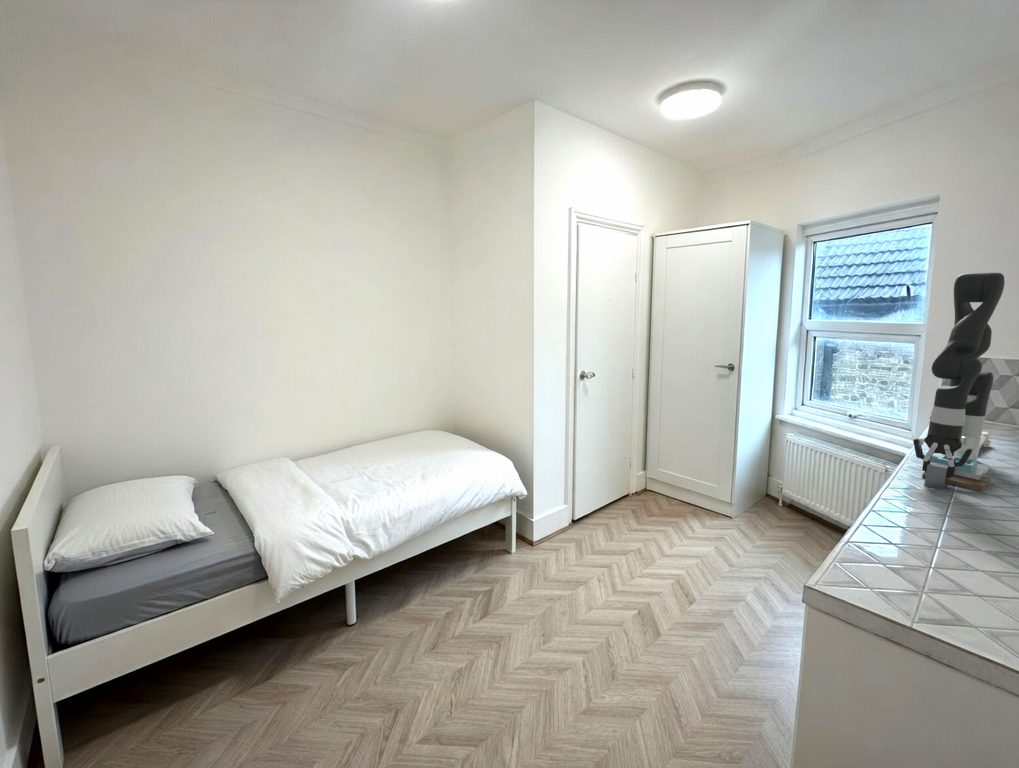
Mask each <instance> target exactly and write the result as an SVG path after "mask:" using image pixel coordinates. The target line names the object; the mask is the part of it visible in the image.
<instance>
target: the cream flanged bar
mask: <svg viewBox="0 0 1019 768" xmlns="http://www.w3.org/2000/svg"><path fill="white" fill-rule="evenodd" d="M991 443H992V439H990V433H989V432H988V431H982V436H981V441H980V447H979V450H980V449H981V448H984V447H986V448H990V445H991Z"/></svg>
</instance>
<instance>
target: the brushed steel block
mask: <svg viewBox="0 0 1019 768" xmlns="http://www.w3.org/2000/svg"><path fill="white" fill-rule="evenodd" d="M947 470H948V465H943V464H938V463H933V462H931V463H929V464H928V466H927V471H926V477H925V478H924V485H923V486H924V487H928V488H932V489H936V490H939V491H940V490H941V491H944V490H946V489H947V486H948V484H947V482H948V478H946V476H947Z"/></svg>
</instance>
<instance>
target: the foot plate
mask: <svg viewBox="0 0 1019 768" xmlns="http://www.w3.org/2000/svg"><path fill="white" fill-rule="evenodd" d="M925 477H926V473H924V472H923V473H922V475H921V478H923V479H925ZM991 479H992V477H991V476H986V475H983V476H982V477H981V478H980V479H979V480H977V479H972V478H967V477H963V476H958V475H953V476H952V477H950V478H948V482H947V485H948V484H949V485H952V486H957V487H961V488H964V489H965V488H966V489H970V490H974V491H978V492H983V491H984V490H985V489H986V488H987V487H988V485H989V484H990V483H991Z"/></svg>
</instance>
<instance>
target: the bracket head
mask: <svg viewBox="0 0 1019 768" xmlns="http://www.w3.org/2000/svg"><path fill="white" fill-rule="evenodd" d="M961 458H962V457H957V456H955V460H956V462H959V461H960V459H961ZM930 461H931V462H934V463H938V464H943V465H948V466H949V463H948V459H947V456H946V455H943V454H941V455H935V454H933V456H932V457H931V459H930ZM977 463H979V461H978V459H977V460H972V459H968V460H967V461H966V463H965V464H964V465H963V466H961V467H960V466H956V467H955V470H957V471H962V472H967V473H972V472H973V471H974V470H975V469H976V468H977Z"/></svg>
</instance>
